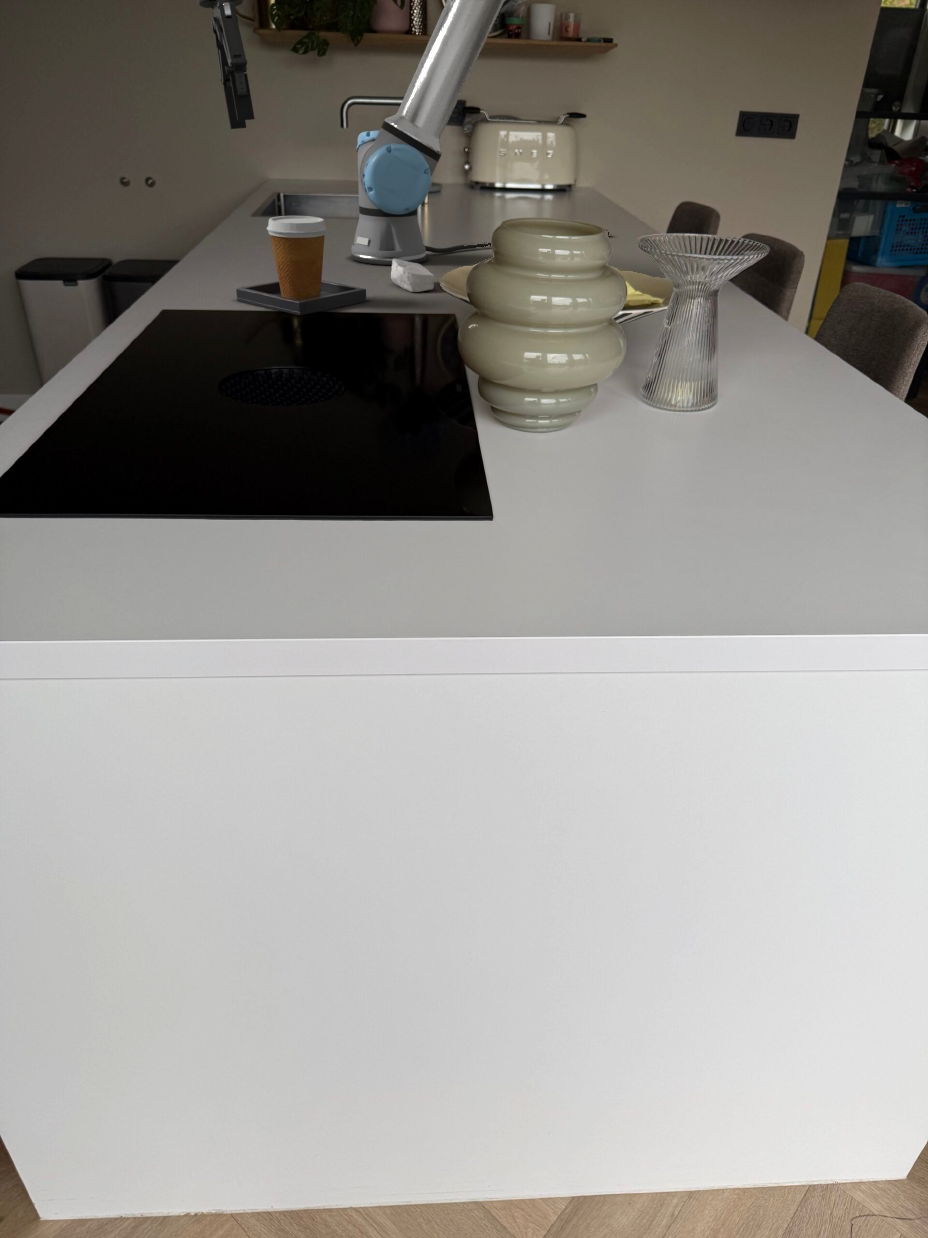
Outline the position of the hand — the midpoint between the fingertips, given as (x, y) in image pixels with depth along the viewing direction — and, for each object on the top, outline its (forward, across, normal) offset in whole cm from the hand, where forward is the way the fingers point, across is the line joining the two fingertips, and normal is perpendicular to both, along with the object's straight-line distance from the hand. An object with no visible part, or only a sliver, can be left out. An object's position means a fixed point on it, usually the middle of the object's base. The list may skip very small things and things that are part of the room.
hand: (242, 124), depth 156 cm
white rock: (+29, +11, +24) cm, 39 cm away
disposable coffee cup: (+28, +19, +3) cm, 34 cm away
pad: (+28, +19, +3) cm, 34 cm away
